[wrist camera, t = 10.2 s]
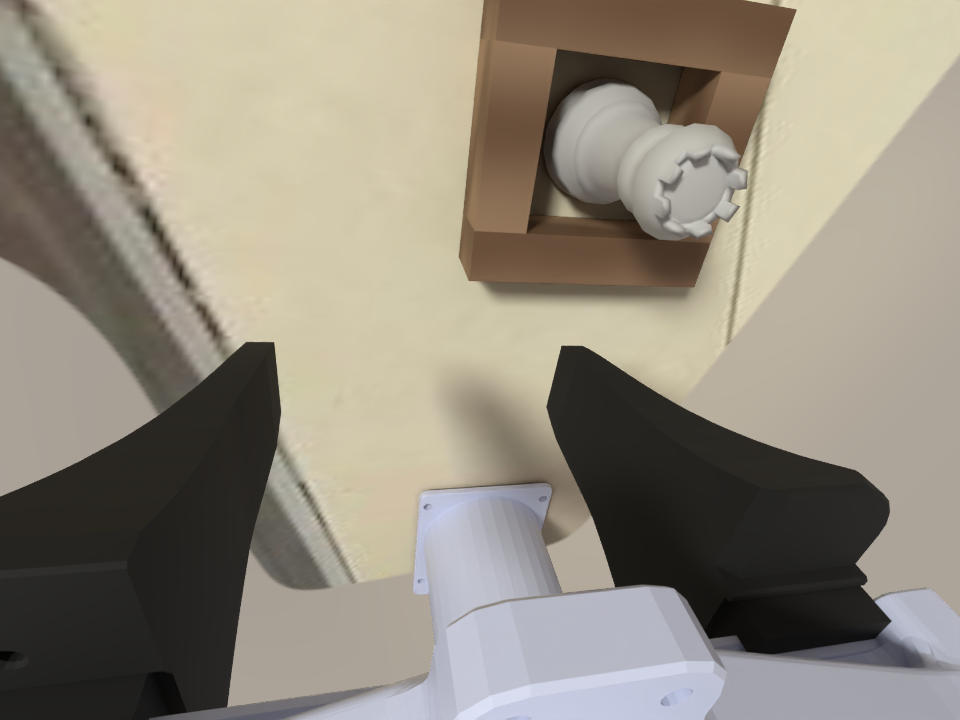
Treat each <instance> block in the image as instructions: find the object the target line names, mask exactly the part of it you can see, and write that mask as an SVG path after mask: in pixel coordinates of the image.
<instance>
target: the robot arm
mask: <svg viewBox="0 0 960 720" xmlns="http://www.w3.org/2000/svg"><path fill="white" fill-rule="evenodd" d="M547 410H548V414H549V418H550V421H551V425H552V428H553V431H554V434H555V437H556V440H557V442H558V444H559V446H560V449H561V451H562V453H563V455H564V457H565V459H566V462H567V464H568V466H569V468H570V470H571V472H572V474H573V476H574V478H575V480H576V483H577V485H578V487H579V489H580V491H581V493H582V495H583V497H584V499H585V501H586V504H587V506H588V508H589V511H590V513H591V515H592V518H593V520H594V523H595V526H596V529H597V532H598V534H599V537H600V541H601V543H602V546H603V549H604V552H605V555H606V559H607V562H608V565H609V568H610V571H611V575H612V578H613V581H614V584H615V588H606V589H597V590H588V591H579V592H569V593H562V590H561V587H560V585H559V582H558V579H557V576H556V573H555V571H554V568H553V565H552V562H551V559H550V557H549V554H548V551H547V548H546V545H545V542H544V539H543V537H542V534H541V531H542V527H543V524H544V520H545V516H546V513H547V509H548V505H549V501H550V498H551V494H552V488H551V486H550V485H549V484H548V483H536V484H521V485H505V486H490V487H475V488H459V489H444V490H429V491H425V492H423V493H421V494H420V497H419V507H418V521H417V535H416V549H415V562H414V576H413V592H414V593H415V594H418V595H419V594H420V595H421V594H429V598H430V607H431V615H432V625H433V633H434V642H435V647H434V650H433V656H432V663H431V669H430V672H427V673H424V674H421V675H418V676H415V677H411V678H408V679H405V680H402V681H399V682H396V683H393V684H389V685H381V686H373V687H366V688H360V689H353V690H346V691H339V692H331V693H324V694H317V695H310V696H303V697H295V698H288V699H281V700H274V701H267V702H260V703H253V704H246V705H239V706H232V707H227V705H228V696H229V688H230V679H231V672H232V664H233V656H234V649H235V641H236V634H237V626H238V620H239V613H240V606H241V599H242V593H243V586H244V580H245V574H246V567H247V562H248V555H249V549H250V544H251V539H252V535H253V530H254V526H255V523H256V519H257V515H258V512H259V508H260V505H261V501H262V498H263V494H264V491H265V487H266V483H267V480H268V476H269V473H270V469H271V465H272V462H273V458H274V454H275V451H276V446H277V439H278V432H279V424H280V416H281V406H280V396H279V386H278V376H277V365H276V355H275V345H274V342H246V343H245V344H244V345H242V346H241V347H240V348H239V349H238V350H237V351H236V352H234V353H233V354H232V355H231V356H230V357H229V358H228V359H227V360H226V361H225V362H224V363H223V364H221V365H220V366H219V367H218V368H217V369H216V370H215V371H214V372H213V373H211V374H210V375H209V376H208V377H207V378H206V379H205V380H203V381H202V382H201V383H200V384H199V385H198V386H196V387H195V388H194V389H193V390H192V391H190V392H189V393H188V394H186V395H185V396H184V397H182V398H181V399H180V400H179V401H177V402H176V403H175V404H173V405H172V406H171V407H170V408H168V409H167V410H166V411H164V412H163V413H161V414H160V415H158V416H157V417H156V418H154V419H152V420H151V421H150V422H148V423H146V424H145V425H143V426H142V427H140V428H139V429H137V430H135V431H134V432H132V433H130V434H129V435H127V436H126V437H124V438H122V439H120V440H119V441H117V442H115V443H113V444H111V445H109V446H107V447H106V448H104V449H102V450H100V451H98V452H96V453H95V454H92V455H91V456H89V457H87V458H85V459H83V460H81V461H79V462H78V463H75V464H73V465H71V466H69V467H67V468H65V469H63V470H61V471H59V472H56V473H54V474H52V475H50V476H48V477H46V478H43V479H41V480H39V481H36V482H34V483H32V484H29V485H27V486H25V487H23V488H20V489H18V490H15V491H13V492H10V493H8V494H6V495H3V496H1V497H0V720H960V617H959V616H958V615H957V614H956V613H955V612H954V611H953V610H952V609H951V608H950V607H949V606H948V605H947V604H946V603H945V602H944V601H943V600H942V599H941V598H940V597H939V596H938V595H937V594H936V593H935V592H934V591H933V590H932V589H929V588H920V589H911V590H905V591H897V592H889V593H886V594H882V595H880V596H879V597H877V598H875V599H874V600H873V599H872V598H871V597H870V596H869V595H868V594H867V593H866V592H865V590H864V589H863V588H862V587H861V586H860V585H865V583H866V582H867V576H866V575H865V574H864V573H863V572H862V571H861V570H860V569H859V568H858V566H857V565H856V564H855V563H856V562H857V561H858V560H859V558H860V557H861V556H862V554H864V552H865V551H866V550H867V549H868V547H869V546H870V545H871V544H872V543H873V541H874V540H875V539H876V538H877V536H878V535H879V534H880V532H881V531H882V529H883V528H884V526H885V525H886V523H887V520H888V517H889V513H890V507H889V501H888V499H887V498H886V497H885V495H884V494H883V493H882V492H881V491H879V490H878V489H877V488H876V487H875V486H874V485H873V484H872V483H871V482H869V481H868V480H867V479H866V478H865V477H864V476H863V475H861V474H860V473H859V472H857V471H855V470H852V469H848V468H845V467H841V466H837V465H833V464H829V463H825V462H822V461H817V460H814V459H810V458H807V457H803V456H800V455H797V454H794V453H791V452H787V451H784V450H782V449H778V448H775V447H772V446H769V445H767V444H764V443H761V442H758V441H756V440H753V439H751V438H748V437H746V436H743V435H741V434H738V433H736V432H733V431H731V430H728V429H726V428H724V427H721V426H719V425H717V424H715V423H712V422H710V421H708V420H706V419H704V418H702V417H700V416H698V415H696V414H694V413H692V412H690V411H688V410H686V409H684V408H683V407H681V406H679V405H677V404H675V403H674V402H672V401H670V400H668V399H667V398H665V397H663V396H662V395H660V394H658V393H657V392H655V391H653V390H652V389H650V388H648V387H647V386H645V385H644V384H642V383H641V382H639V381H637V380H636V379H634V378H633V377H631V376H630V375H628V374H627V373H625V372H624V371H622V370H621V369H619V368H618V367H616V366H615V365H613V364H612V363H610V362H609V361H607V360H606V359H604V358H603V357H601V356H599V355H598V354H596V353H595V352H593V351H591V350H590V349H588V348H586V347H584V346H561V350H560V354H559V358H558V362H557V367H556V371H555V375H554V379H553V383H552V387H551V391H550V395H549V399H548V403H547ZM541 496H542V497H541ZM427 504H430V505H427Z"/></svg>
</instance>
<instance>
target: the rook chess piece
mask: <svg viewBox="0 0 960 720" xmlns="http://www.w3.org/2000/svg"><path fill="white" fill-rule="evenodd" d="M543 152H544V157H545V162H546V167H547V172H548V174H549V175H550V176H551V178H552V179H553V181H554V182H555V184H556V185H557V187H558V188H559V189H560V190H562V191H564V192H565V193H567V194H569V195H571V196H572V197H574V198H577V199H578V200H580V201H582V202H584V203H595V204H610V203H612V202H615V201H618V200H621V201H622V202H623V204H624V206H625V207H626V209H627V210H628V211H630V212H632V213H633V215H634V217H635V218H636V220H637V221H638V223H639V225H640V226H641V228H642V230H643V231H644V232H646V233H648V234H650V235H651V236H653V237H655V238H657V239H658V240H680V239H683V238H686V237H689V236H692V237H693V238H695V239H700V238H702V237H705V236H708V235H711V234H713V232H712V227H711V225H710V224H711V223H712V222H713V221H715V220H716V219H717V218H721V219H723V220H725V221H726V222H729V221H730V219H731V218H732V217H733V215H734V214H735V213H736V211H737V210H738V209H739V207H740V206H738V205H736V204H733V203H731V202H730V201H731V199H732V196H733V193H734V190H735V189H736V190H741V189H747V173H748V171H747V170H744V169H741V168H739V167H738V163H739V158H740V157H741V155H739V154H738V153H737V151H736V148H735V146H734V144H733V141H732V139H731V137H730V136H728V135H727V134H726V133H724V132H723V131H722V130H720V129H719V128H718V127H717V126H714V125H705V124H696V123H694V124H691V125H688V126H686V127H684V126H682V125H673V124H664V125H662V121H661V118H660V116H659V114H658V112H657V110H656V108H655V106H654V104H653V102H652V100H651V99H650V98H649V97H648V96H647V95H645V94H644V93H643V92H641V91H640V90H639V89H637V88H636V87H634V86H633V85H629V84H627V83H625V82H624V81H622V80H614V79H605V78H600V79H597V80H594V81H591V82H588V83H585V84H582V85H580V86H578V87H577V88H576V89H575V90H573V91H572V92H571V93H570V94H569V95H568V96H567V97H566V98H564V99H563V100H562V101H561V102H560V103H559V105H558V107H557V109H556V110H555V112H554V114H553V116H552V118H551V119H550V121H549V123H548V125H547V130H546V136H545V142H544V148H543Z"/></svg>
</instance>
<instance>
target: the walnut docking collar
mask: <svg viewBox="0 0 960 720" xmlns="http://www.w3.org/2000/svg"><path fill="white" fill-rule="evenodd" d="M795 13H796V9H791V8H785V7H779V6H774V5H768V4H762V3H757V2H751V1H745V0H484V5H483V15H482V25H481V36H480V46H479V56H478V67H477V77H476V87H475V97H474V108H473V118H472V128H471V138H470V149H469V159H468V169H467V180H466V190H465V200H464V210H463V221H462V231H461V241H460V251H459V258H460V261H461V263H462V265H463V268H464V270H465V273H466V275H467V277H468V280H469V281H488V282H524V283H560V284H596V285H632V286H668V287H694V286H695V284H696V281H697V278H698V275H699V273H700V270H701V267H702V265H703V262H704V259H705V257H706V254H707V251H708V248H709V246H710V243H711V240H712V238H713V235H714V232H715V229H716V227H717V224H718V221H719V219H720V218H717V219H716V220H715V221H713V222H712V223H711V224H710V225H711V227H712V232H713V234H711V235H708V236H705V237H702V238H700V239H695V238H693V237H692V236H689V237H686V238H683V239H680V240H658V239H657V238H655V237H653V236H651V235H650V234H648V233H646V232H644V231H643V230H642V228H641V226H640V225H639V223H638V221H627V220H610V219H593V218H576V217H559V216H542V215H529V214H530V208H531V202H532V196H533V190H534V184H535V178H536V172H537V166H538V160H539V154H540V148H541V142H542V136H543V130H544V124H545V118H546V112H547V106H548V100H549V94H550V88H551V82H552V76H553V70H554V64H555V58H556V52H557V49H559V50H566V51H573V52H580V53H588V54H595V55H602V56H609V57H617V58H624V59H631V60H638V61H646V62H653V63H660V64H667V65H675V66H682V67H684V68H683V71H682V75H681V78H680V82H679V85H678V89H677V92H676V96H675V99H674V103H673V106H672V110H671V113H670V117H669V120H668V124H673V125H682V126H684V127H686V126H688V125H691V124H694V123H696V124H705V125H714V126H717V127H718V128H719V129H720V130H722V131H723V132H724V133H726V134H727V135H728V136H730V137H731V139H732V141H733V144H734V146H735V148H736V151H737V153H738V154H739V155H741V157H740V158H739V163H738V167H739V165H740V162H741V159H742V156H743V154H744V151H745V148H746V146H747V143H748V140H749V137H750V135H751V132H752V129H753V127H754V124H755V121H756V119H757V116H758V113H759V110H760V108H761V105H762V102H763V100H764V97H765V94H766V91H767V89H768V86H769V83H770V81H771V78H772V75H773V72H774V70H775V67H776V64H777V62H778V59H779V56H780V54H781V51H782V48H783V45H784V43H785V40H786V37H787V35H788V32H789V29H790V26H791V24H792V21H793V18H794V16H795Z"/></svg>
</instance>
